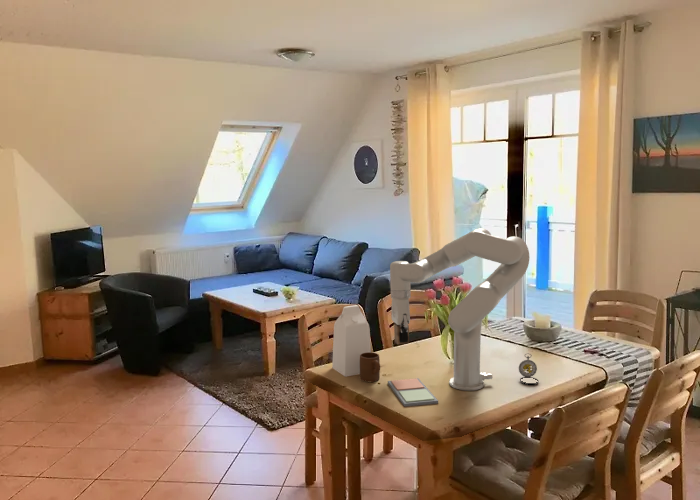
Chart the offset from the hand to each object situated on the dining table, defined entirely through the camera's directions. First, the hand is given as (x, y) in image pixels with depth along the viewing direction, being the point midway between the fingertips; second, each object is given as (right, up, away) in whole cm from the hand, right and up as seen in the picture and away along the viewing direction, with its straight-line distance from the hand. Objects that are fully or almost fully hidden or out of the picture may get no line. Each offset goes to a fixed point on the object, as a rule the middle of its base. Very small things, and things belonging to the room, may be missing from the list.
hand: (401, 339), depth 227 cm
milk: (-19, -14, +10) cm, 25 cm away
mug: (-11, -15, -3) cm, 19 cm away
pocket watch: (+47, -15, -6) cm, 50 cm away
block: (0, -1, 0) cm, 1 cm away
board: (+2, -17, -15) cm, 23 cm away
